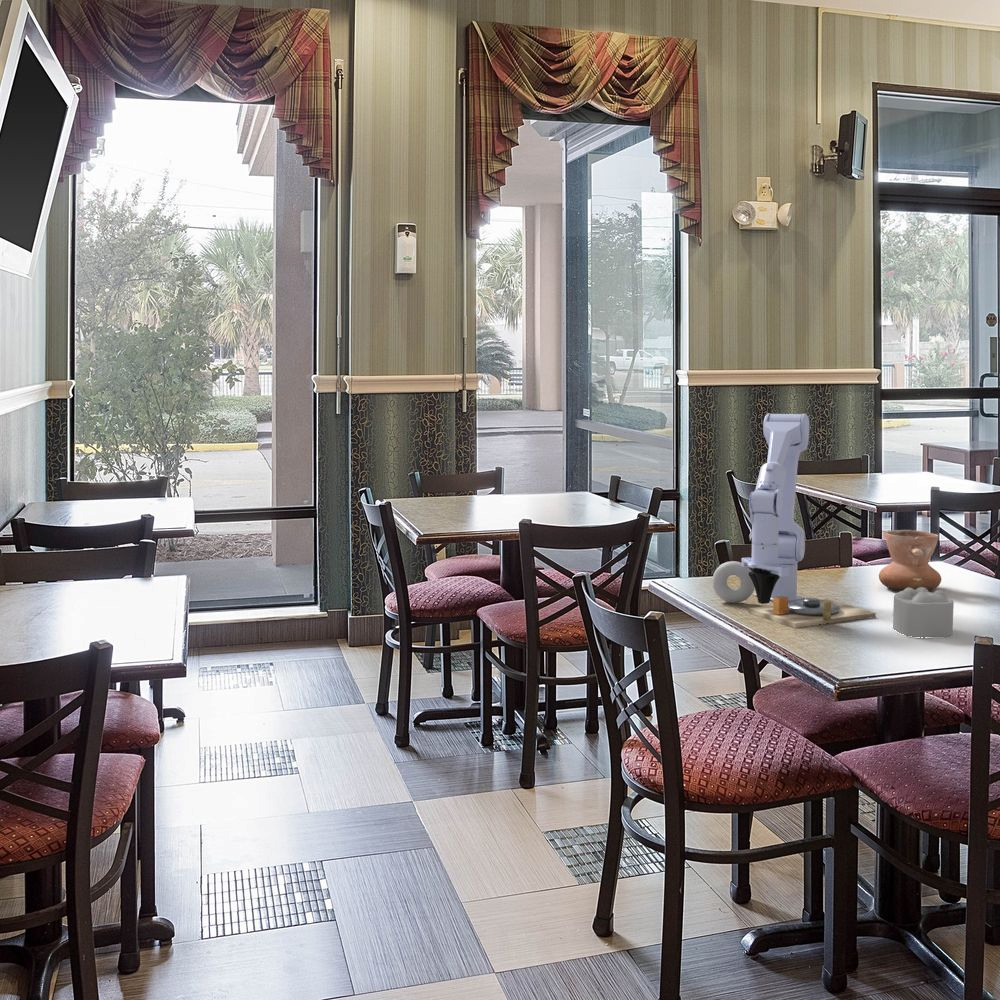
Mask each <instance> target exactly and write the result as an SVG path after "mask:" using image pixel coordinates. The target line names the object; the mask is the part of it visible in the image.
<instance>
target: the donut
mask: <svg viewBox="0 0 1000 1000" xmlns="http://www.w3.org/2000/svg"><path fill="white" fill-rule="evenodd" d="M741 562H742V561H741ZM741 562H740V561H734V560H731V561H726V562H724V563H721V564H720V565H719V566H718V567H717V568H716V569H715V571H714V573H713V576H712V580H711V582H712V588H713V590H714V593H715V594H716V595H717V596H718V598H719V599H721V600H723V601H725V603H731V604H738V603H742V602H744V601H746V600H748V599H749V598H750V597H751V596H752V595H753V594H754V591H755V587H754V584H753V582H752V580H751V578H750V576H749V572H752V570H751V568H750V567H743V566H741ZM732 576H736V577H737V578H738V579H739V581H740V584H739V587H736V588H731V587H730V586H729V585H728V578H729V577H732Z"/></svg>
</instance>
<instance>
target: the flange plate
mask: <svg viewBox="0 0 1000 1000" xmlns="http://www.w3.org/2000/svg"><path fill="white" fill-rule="evenodd" d="M820 600H821V599H819V598H816V597H805V598H804V599H803V600H794V601H788V597H785V596H775V597H773V601H772V603H773V604H772V606H773V613H775V614H778V615H780V614H788V613H796V614H802V615H823V602H824V601H820ZM839 611H840V606H839V605H837V604H834V603H831V615H832V614H836V613H838V612H839Z"/></svg>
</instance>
